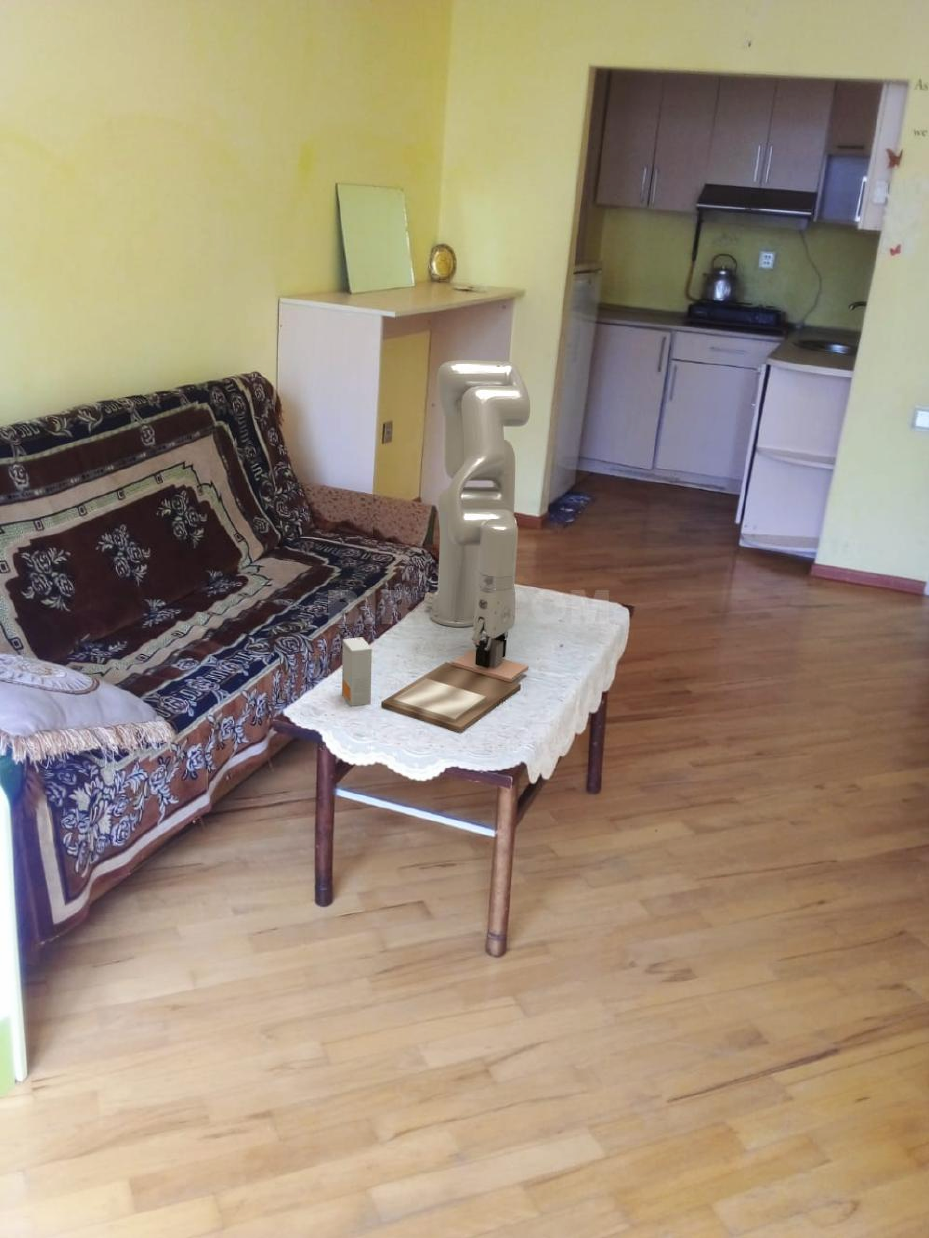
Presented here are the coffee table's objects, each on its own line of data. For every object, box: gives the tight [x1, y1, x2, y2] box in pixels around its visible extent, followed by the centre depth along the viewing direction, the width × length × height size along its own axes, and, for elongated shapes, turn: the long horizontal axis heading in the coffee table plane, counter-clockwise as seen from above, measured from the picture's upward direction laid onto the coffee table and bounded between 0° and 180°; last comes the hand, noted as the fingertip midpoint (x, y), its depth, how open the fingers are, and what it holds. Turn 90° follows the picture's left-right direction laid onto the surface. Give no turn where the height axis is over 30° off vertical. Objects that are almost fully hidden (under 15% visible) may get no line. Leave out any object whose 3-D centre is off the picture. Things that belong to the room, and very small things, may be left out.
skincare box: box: [341, 636, 373, 707], centre depth 215 cm, size 6×4×12 cm
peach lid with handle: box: [451, 637, 529, 682], centre depth 231 cm, size 14×8×6 cm, turn 59°
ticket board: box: [380, 661, 522, 734], centre depth 220 cm, size 18×24×2 cm
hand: (490, 660), depth 231 cm, fingers open, 6 cm apart
